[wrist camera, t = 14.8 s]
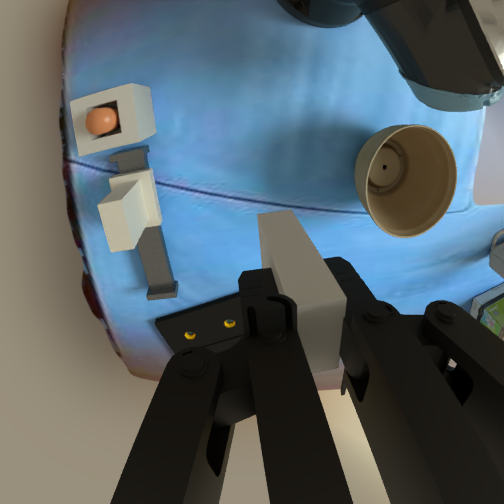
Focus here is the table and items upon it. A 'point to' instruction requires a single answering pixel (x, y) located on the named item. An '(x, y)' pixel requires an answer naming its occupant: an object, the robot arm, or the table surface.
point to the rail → (149, 235)
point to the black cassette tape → (204, 325)
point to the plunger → (102, 120)
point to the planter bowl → (406, 179)
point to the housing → (130, 114)
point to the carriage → (129, 208)
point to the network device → (497, 255)
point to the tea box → (490, 310)
